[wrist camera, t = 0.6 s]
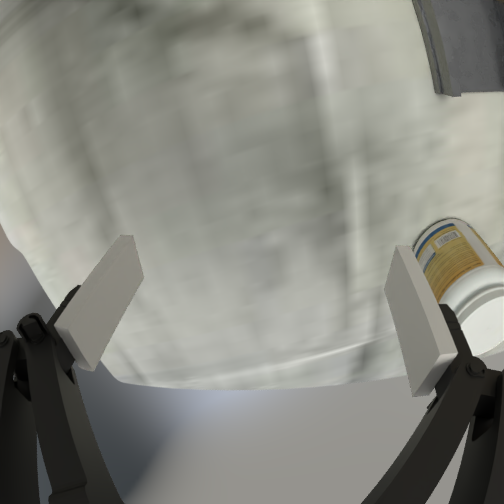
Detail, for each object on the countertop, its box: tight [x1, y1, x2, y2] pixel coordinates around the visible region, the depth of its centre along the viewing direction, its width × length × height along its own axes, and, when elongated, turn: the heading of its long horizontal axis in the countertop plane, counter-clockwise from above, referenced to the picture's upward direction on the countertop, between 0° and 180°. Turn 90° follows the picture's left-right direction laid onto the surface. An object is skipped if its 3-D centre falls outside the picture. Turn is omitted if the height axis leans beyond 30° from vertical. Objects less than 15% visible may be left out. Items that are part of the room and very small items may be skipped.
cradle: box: [412, 0, 504, 97], centre depth 23 cm, size 14×14×4 cm
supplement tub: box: [413, 219, 504, 356], centre depth 35 cm, size 12×12×17 cm
